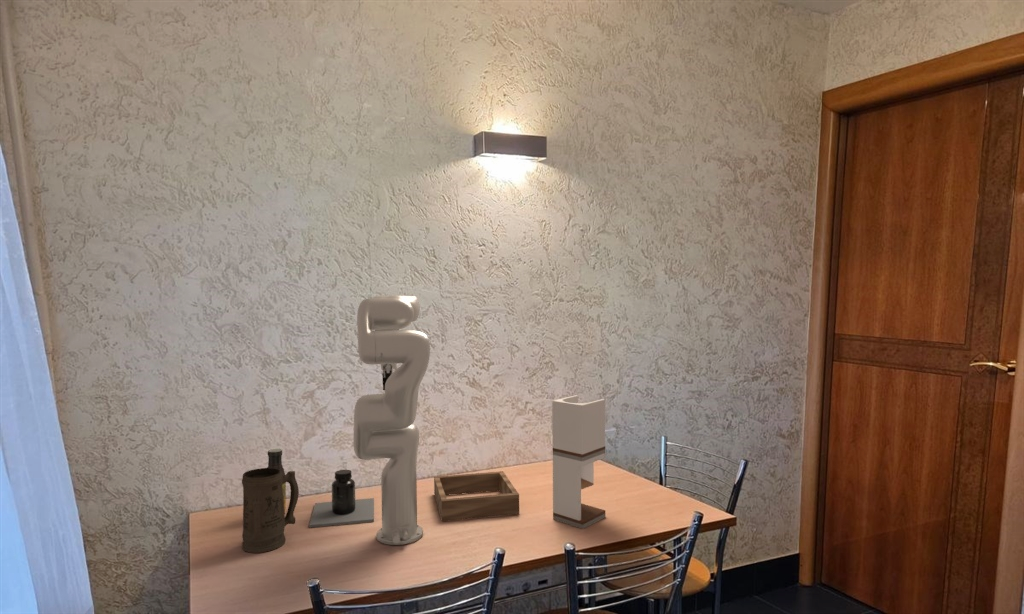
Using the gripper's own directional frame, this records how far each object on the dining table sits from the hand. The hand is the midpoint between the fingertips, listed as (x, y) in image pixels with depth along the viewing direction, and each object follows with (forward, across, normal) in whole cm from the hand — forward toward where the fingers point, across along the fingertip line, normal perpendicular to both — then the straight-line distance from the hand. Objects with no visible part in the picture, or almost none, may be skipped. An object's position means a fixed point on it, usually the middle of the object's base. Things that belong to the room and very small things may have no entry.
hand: (387, 387), depth 193 cm
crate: (+36, -11, -26) cm, 46 cm away
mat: (+36, -9, +14) cm, 40 cm away
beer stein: (+36, -25, +32) cm, 55 cm away
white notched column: (+36, -30, -54) cm, 72 cm away
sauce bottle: (+36, -6, +34) cm, 50 cm away
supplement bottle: (+36, -9, +14) cm, 39 cm away
